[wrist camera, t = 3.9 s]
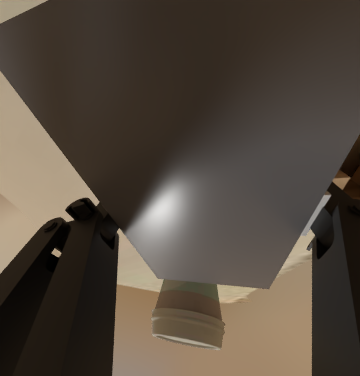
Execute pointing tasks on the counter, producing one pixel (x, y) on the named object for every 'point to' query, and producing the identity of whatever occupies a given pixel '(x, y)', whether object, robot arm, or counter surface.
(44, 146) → the counter surface
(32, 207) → the counter surface
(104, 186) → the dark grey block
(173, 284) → the coffee cup
